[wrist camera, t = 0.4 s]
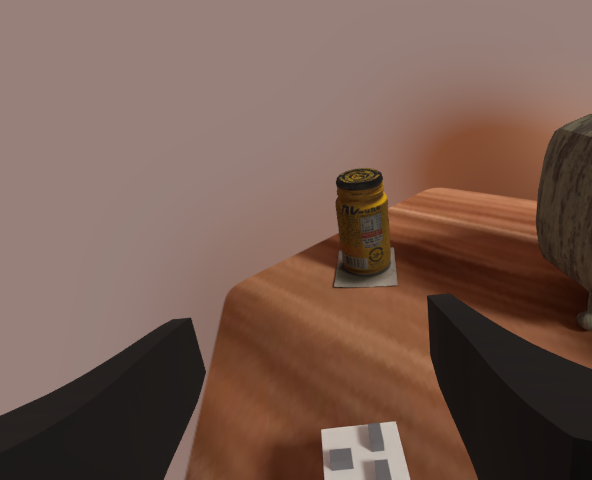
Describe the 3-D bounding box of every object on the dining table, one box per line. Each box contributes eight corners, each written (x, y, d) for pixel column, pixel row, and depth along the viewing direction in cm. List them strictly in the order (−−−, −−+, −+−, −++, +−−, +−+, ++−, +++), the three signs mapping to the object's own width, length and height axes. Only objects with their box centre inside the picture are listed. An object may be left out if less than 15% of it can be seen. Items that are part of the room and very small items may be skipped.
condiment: (393, 248, 52) (388, 162, 47) (397, 286, 45) (392, 188, 39) (339, 252, 54) (327, 168, 48) (334, 289, 47) (320, 195, 41)
